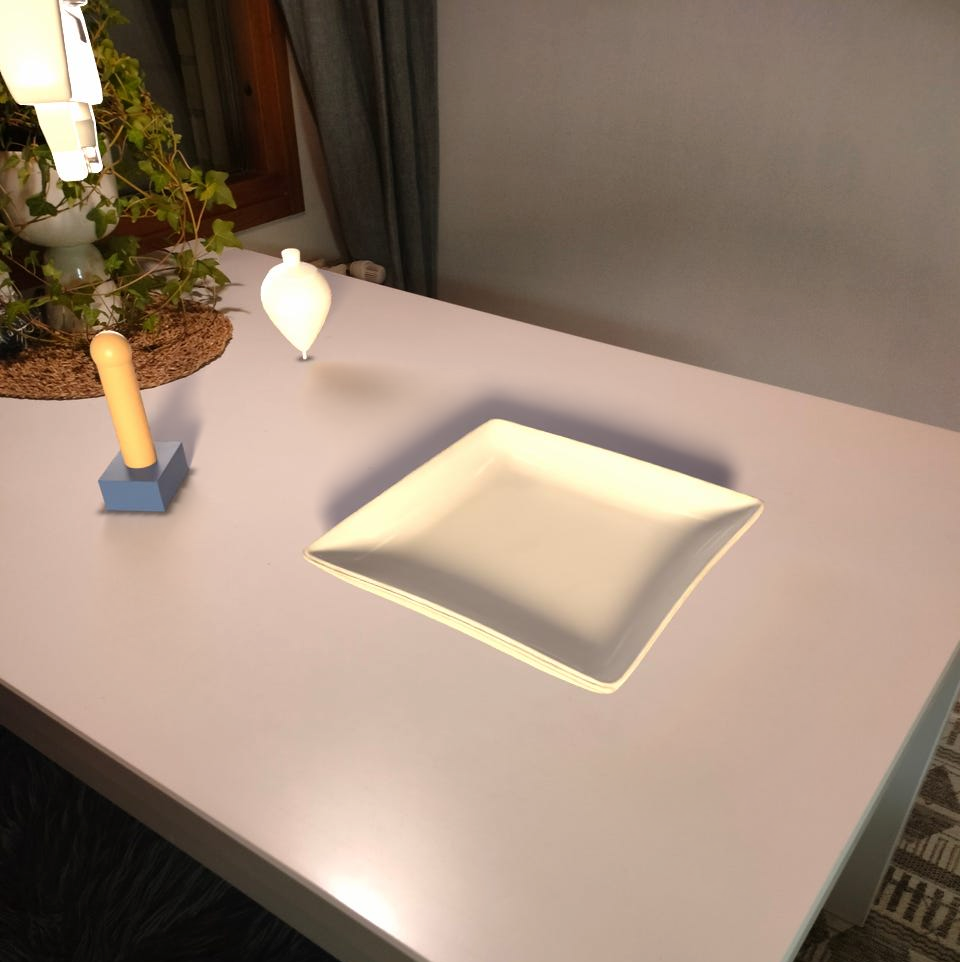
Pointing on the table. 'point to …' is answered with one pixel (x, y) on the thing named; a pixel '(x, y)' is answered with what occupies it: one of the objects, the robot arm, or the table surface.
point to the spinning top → (296, 299)
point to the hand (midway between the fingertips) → (83, 176)
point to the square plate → (541, 547)
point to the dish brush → (133, 436)
